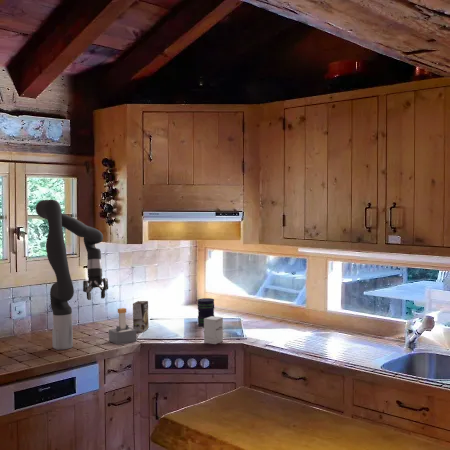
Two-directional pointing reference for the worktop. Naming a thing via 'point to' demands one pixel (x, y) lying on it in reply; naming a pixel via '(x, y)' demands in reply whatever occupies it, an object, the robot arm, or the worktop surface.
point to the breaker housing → (122, 335)
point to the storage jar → (205, 310)
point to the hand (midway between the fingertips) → (96, 299)
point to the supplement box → (213, 330)
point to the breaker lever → (122, 318)
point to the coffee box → (140, 316)
